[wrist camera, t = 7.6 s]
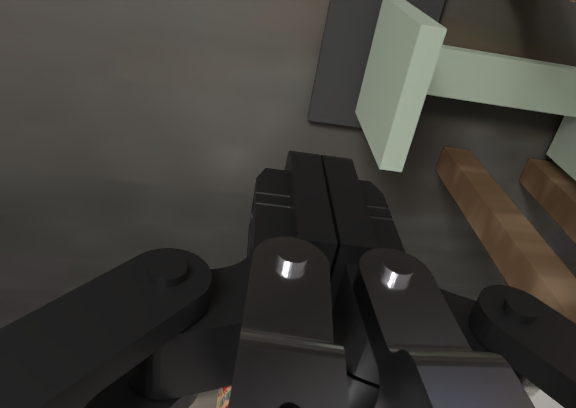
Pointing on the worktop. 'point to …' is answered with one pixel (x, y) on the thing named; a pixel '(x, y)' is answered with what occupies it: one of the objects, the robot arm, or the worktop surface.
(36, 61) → the worktop surface
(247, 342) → the robot arm
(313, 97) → the pad
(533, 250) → the tunnel
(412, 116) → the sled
